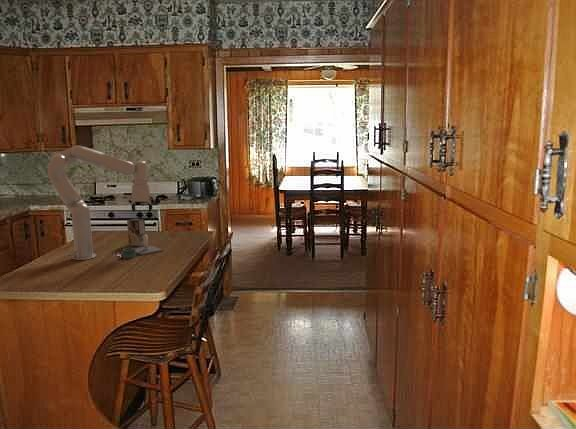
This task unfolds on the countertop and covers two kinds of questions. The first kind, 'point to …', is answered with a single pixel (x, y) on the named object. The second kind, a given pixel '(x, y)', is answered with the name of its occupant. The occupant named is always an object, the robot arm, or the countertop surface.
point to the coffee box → (136, 231)
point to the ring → (128, 252)
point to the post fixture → (147, 248)
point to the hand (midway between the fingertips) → (142, 211)
